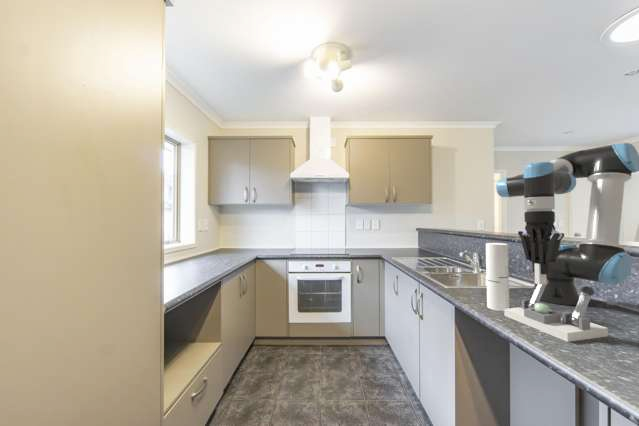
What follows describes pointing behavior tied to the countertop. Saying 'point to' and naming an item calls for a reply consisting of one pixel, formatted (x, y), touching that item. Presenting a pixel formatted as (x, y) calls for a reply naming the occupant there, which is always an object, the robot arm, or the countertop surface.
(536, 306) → the button
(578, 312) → the lever
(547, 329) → the panel
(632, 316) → the countertop surface
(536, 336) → the countertop surface
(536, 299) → the lever
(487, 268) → the cylindrical container
